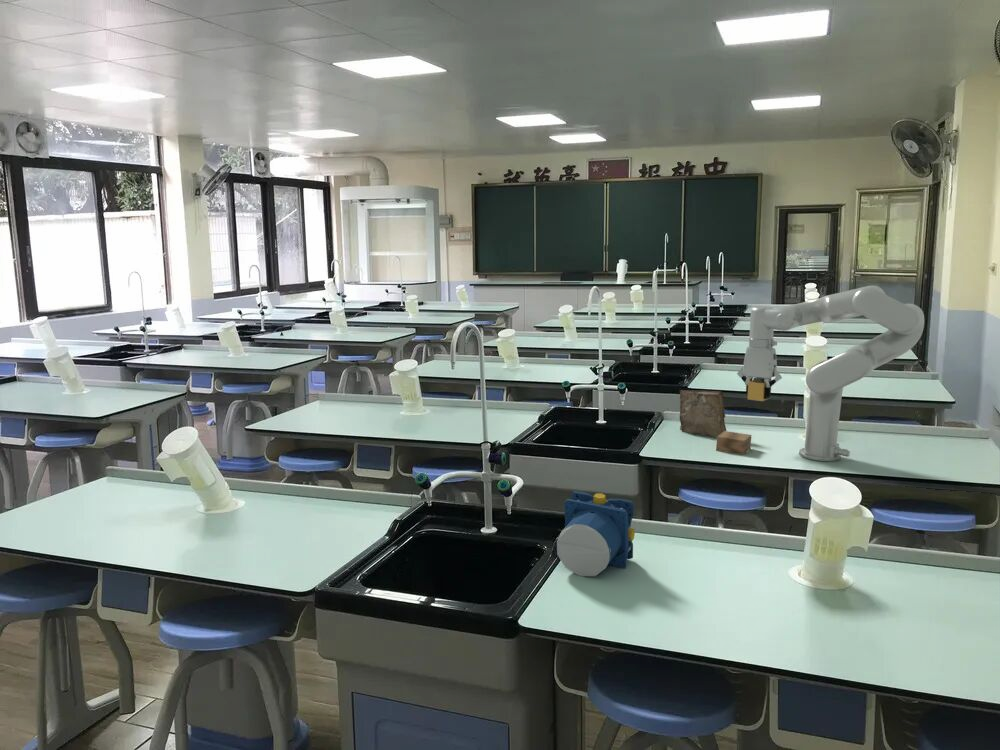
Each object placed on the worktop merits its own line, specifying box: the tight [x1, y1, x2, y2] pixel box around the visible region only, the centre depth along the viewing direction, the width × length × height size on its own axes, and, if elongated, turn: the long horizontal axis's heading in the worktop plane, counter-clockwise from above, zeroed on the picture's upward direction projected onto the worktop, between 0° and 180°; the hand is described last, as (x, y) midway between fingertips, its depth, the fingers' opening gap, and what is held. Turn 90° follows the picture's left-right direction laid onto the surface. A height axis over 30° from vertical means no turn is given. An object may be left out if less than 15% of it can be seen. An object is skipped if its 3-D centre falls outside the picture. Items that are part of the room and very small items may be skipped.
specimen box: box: [715, 430, 752, 456], centre depth 265 cm, size 9×9×5 cm
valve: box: [556, 490, 636, 577], centre depth 171 cm, size 13×15×15 cm
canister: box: [746, 377, 768, 402], centre depth 266 cm, size 5×5×7 cm
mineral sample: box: [679, 389, 727, 439], centre depth 283 cm, size 18×4×16 cm, turn 59°
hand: (758, 396), depth 267 cm, fingers closed on canister, 5 cm apart
